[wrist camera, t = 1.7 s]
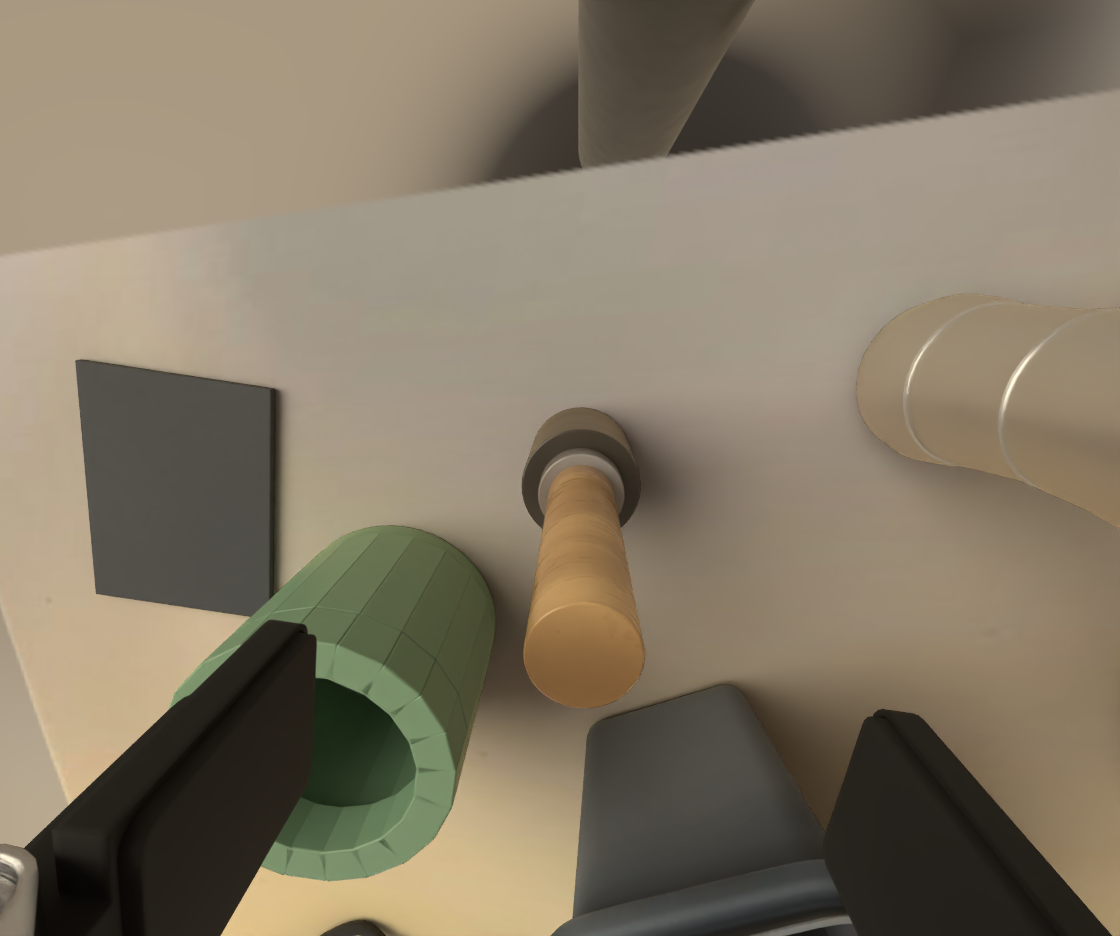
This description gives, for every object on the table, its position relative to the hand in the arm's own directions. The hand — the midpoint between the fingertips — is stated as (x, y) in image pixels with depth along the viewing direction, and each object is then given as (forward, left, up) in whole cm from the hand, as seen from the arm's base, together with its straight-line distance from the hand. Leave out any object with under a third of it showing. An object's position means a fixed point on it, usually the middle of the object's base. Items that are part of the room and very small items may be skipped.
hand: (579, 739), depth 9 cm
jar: (+10, -8, -18) cm, 22 cm away
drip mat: (+5, -19, -18) cm, 26 cm away
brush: (0, 0, -18) cm, 18 cm away
